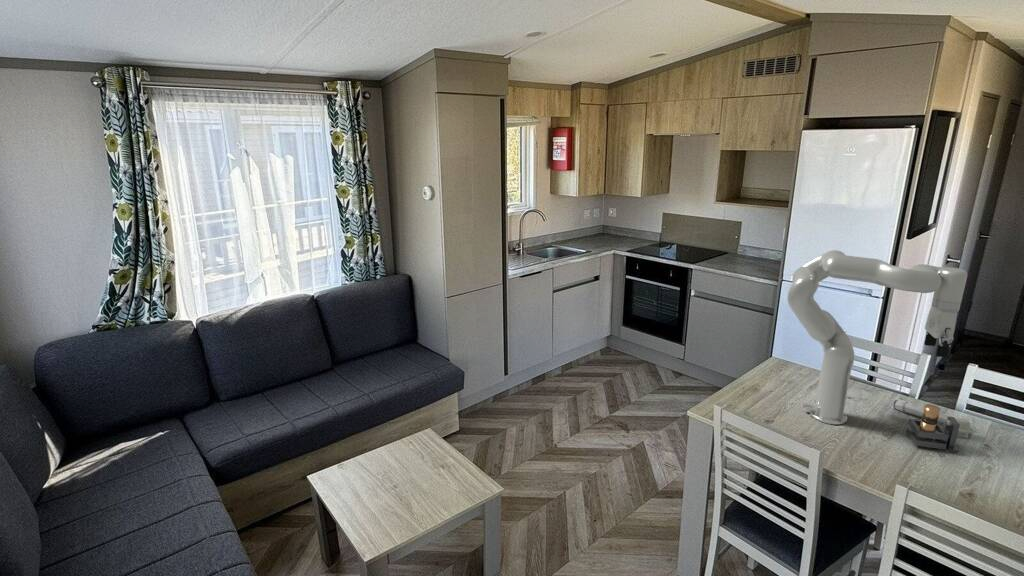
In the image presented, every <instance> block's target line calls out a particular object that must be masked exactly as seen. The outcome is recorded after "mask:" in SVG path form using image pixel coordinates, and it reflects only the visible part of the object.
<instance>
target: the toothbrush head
mask: <svg viewBox="0 0 1024 576" xmlns="http://www.w3.org/2000/svg"><path fill="white" fill-rule="evenodd" d="M892 406H893V407H892V408H893V409H894V410H896V411H899V412H902V413H904V414H908V415H909V414H910V415H914V416H916V417H920V418H922V414H923V410H924V407H922V406H920V405H917V404H913V403H911V402H909V401H904V400H900V399H896V400H894V402H893V404H892ZM948 417H951V416H949V415H946V414H944V413H941V412H940V413H939V418H938V422H939V424H944V425H946V423H945V422H946V420H947V418H948ZM954 418H955V417H954ZM955 420H956V421H957V422H958V423H959V424H960V426H959V430H958V434H957V437H959V438H965V439H971V438H972V434H973V433H974V429H973V428H972V427H971V422H970V420H968V419H966V418H962V417H961V418H959V417H957V418H955Z"/></svg>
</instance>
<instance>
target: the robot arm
mask: <svg viewBox="0 0 1024 576" xmlns="http://www.w3.org/2000/svg"><path fill="white" fill-rule="evenodd" d="M791 278H792V284H791V286H790V288H789V290H788V292H787V304H788V306H789V308H790V309H791V311H792V312H793V314H794V315H795V316H796V318H797V320H798V321H799V322H800V323H801V325H802V326H803V328H804V329H805V330H806V332H807V333H808V334H807V335H809V336H810V337H811V338H812V339H813V340H815V341H816V342H819V343H820V345H821V346H822V349H823V350H822V351H823V358H822V363H821V368H820V374H819V380H818V381H819V382H818V385H817V386H818V387H817V394H816V400H813V402H811V403H808V402H801V408H803V409H804V408H805V410H806V411H808V412H809V415H810V416H811V417H812V418H813V419H815V420H816V421H819V422H822V423H824V424H827V425H828V424H830V425H843V424H845V423H847V422H848V415H847V414H846V413H845V412H844V411H845V408H846V407H845V406H846V400H847V395H848V390H849V384H850V378H851V373H852V369H853V365H854V362H855V351H854V347H853V344H852V341H851V338H850V337H849V336H848V334H847V333H846V331H845V330H844V329H843V328H842V327H841V325H840V324H839V322H838V321H837V320H836V318H835V317H834V316H833V314H831V312H829V311H826V310H824V309H822V308H821V307H820V305H819V303H818V302H816V300H815V298H814V296H815V294H816V292H817V290H818V289H819V284H820V282H822V281H823V280H826V279H828V278H832V279H839V280H847V281H853V282H854V281H855V282H863V283H867V284H868V283H869V284H870V283H871V284H874V285H877V286H882V287H885V288H890V289H894V290H898V291H903V292H904V291H905V292H911V293H918V294H919V293H921V294H930V293H933V297H932V300H931V305H930V309H929V312H928V314H927V318H926V323H925V326H924V329H925V331H926V333H925V334H926V335H925V338H924V343H923V345H924V346H929V347H936V344H937V339H938V342H939V343H938V345H937V348H936V352H935V356H936V357H938V358H940V357H941V358H948V356H949V352H950V348H951V347H952V346H951V345H953V342H954V339H955V338H954V333H955V329H956V323H957V316H958V315H957V314H958V313H957V312H959V311H960V307H961V304H962V299H963V295H964V291H965V287H966V282H967V278H968V273H967V271H966V270H964V269H961V268H958V267H947V266H946V267H942V266H941V267H940V266H936V265H930V264H924V263H921V264H916V265H913V266H912V267H910V268H903V267H899V266H896V265H893V264H891V263H888V262H886V261H884V260H882V259H878V258H871V257H861V256H854V255H853V256H852V255H846V254H845V253H844V252H842V251H840V250H834V249H833V250H829V251H827V252H825V253H823V254H821V255H819V256H818V257H815V258H814V259H812V260H811V261H809V262H806V263H805V264H803V265H801V266H800V267H799V268H797V269H796V270H795V271H794V273H793V274H792V277H791Z"/></svg>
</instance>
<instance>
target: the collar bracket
mask: <svg viewBox="0 0 1024 576" xmlns="http://www.w3.org/2000/svg"><path fill="white" fill-rule="evenodd" d="M920 423H921V419H916V418H908V421H907V424H908V426H907V427H906V431H905V432H906V434H907V436H908V437H909V438H910V440H911V441H912V442H913V444H914V445H915V446H917V447H918V446H919V447H924V448H925V447H926V448H933V449H941V450H945V451H946V452H949V453H956V454H958V453H959V451H960V450H959V448H958V447H957V446H956V442H957V437H958V436H957V434H958V430H959V426H960V424H959V423H958V422H957V421H956V420H955V417H954V416H950V417H948V418H947V420H946V422H945V423H946V424H945V426H942V425H941V423H940V422H937V426H936V430H935V432H932V431H924V430H921V429H920ZM918 437H924V438H933V441H931V440H923V439H919V438H918Z"/></svg>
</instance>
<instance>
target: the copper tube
mask: <svg viewBox="0 0 1024 576" xmlns="http://www.w3.org/2000/svg"><path fill="white" fill-rule="evenodd" d="M923 408H924V410H923V414H922V417H921V419H920V420H921V423H920V426H919V428H920V429H921V430H924V431H932V432H935V430H936V426H937V422H938V418H939V413H941V408H940V407H939V406H937V405H934V404H929V403H928V404H924V407H923ZM918 438H919V439H923V440H931V441H934V439H933V438H924V437H918Z"/></svg>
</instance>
